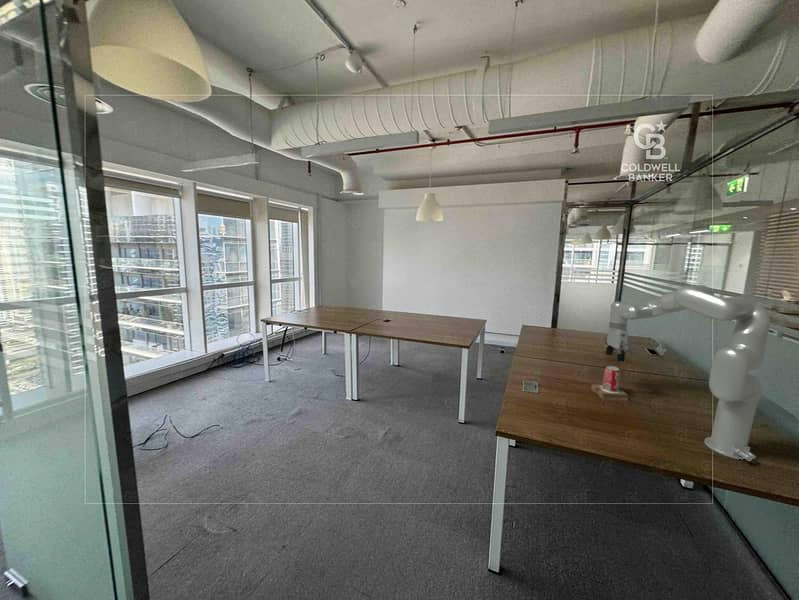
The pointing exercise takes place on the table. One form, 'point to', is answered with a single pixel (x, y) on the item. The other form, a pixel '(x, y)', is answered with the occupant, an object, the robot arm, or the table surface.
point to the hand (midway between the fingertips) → (614, 357)
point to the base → (609, 393)
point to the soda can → (611, 378)
